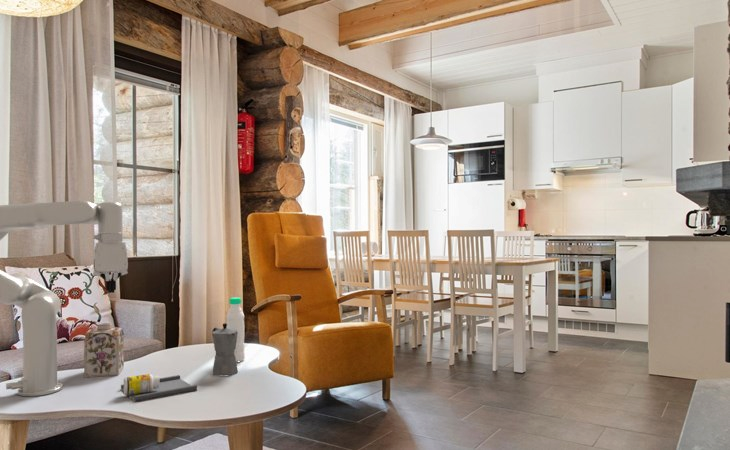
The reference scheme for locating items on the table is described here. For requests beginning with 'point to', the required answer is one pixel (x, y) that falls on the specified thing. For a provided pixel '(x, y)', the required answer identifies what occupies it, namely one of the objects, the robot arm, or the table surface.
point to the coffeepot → (224, 350)
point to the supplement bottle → (140, 384)
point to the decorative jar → (103, 351)
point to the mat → (165, 389)
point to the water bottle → (237, 326)
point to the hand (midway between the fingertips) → (110, 292)
